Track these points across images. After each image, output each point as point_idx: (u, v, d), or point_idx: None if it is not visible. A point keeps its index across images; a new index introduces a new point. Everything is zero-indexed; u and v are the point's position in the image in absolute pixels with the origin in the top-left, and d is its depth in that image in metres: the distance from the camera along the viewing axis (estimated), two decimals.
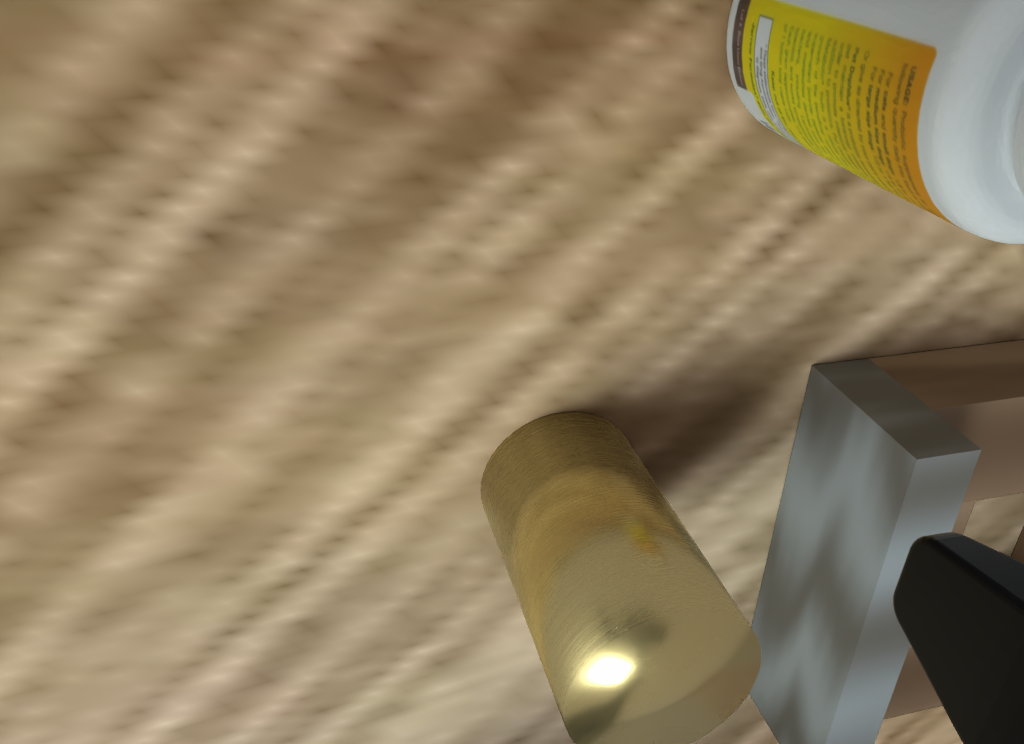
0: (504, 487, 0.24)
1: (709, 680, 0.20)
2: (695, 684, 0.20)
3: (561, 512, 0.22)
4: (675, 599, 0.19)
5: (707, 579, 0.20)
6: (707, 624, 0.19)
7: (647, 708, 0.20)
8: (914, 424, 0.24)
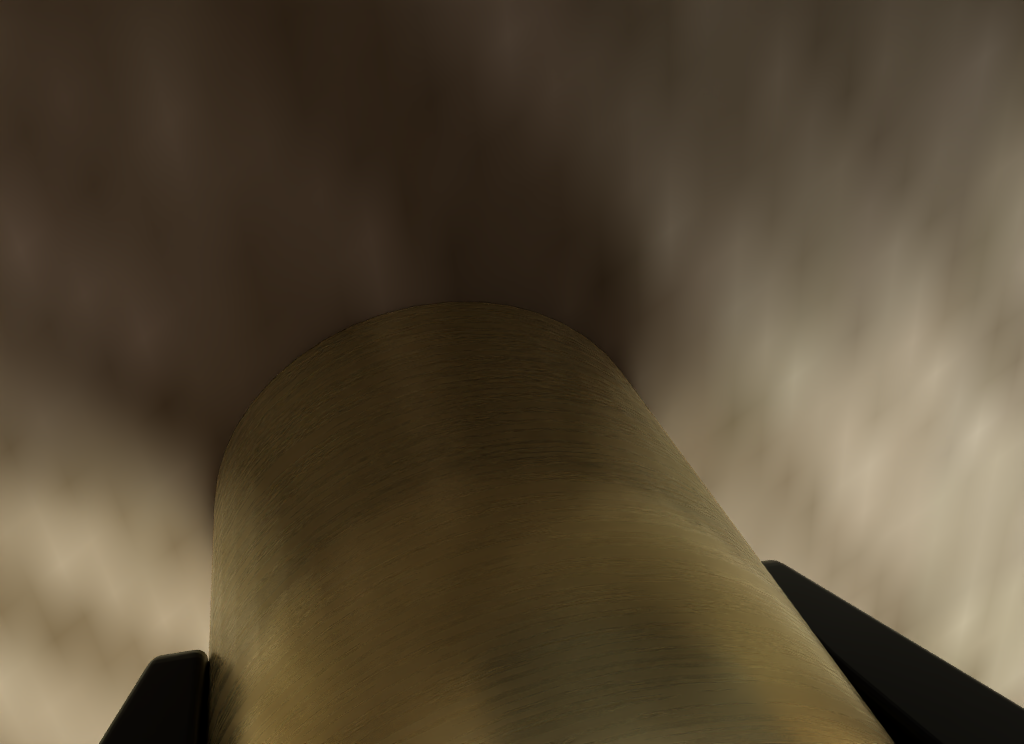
0: None
1: None
2: None
3: None
4: None
5: None
6: None
7: None
8: None
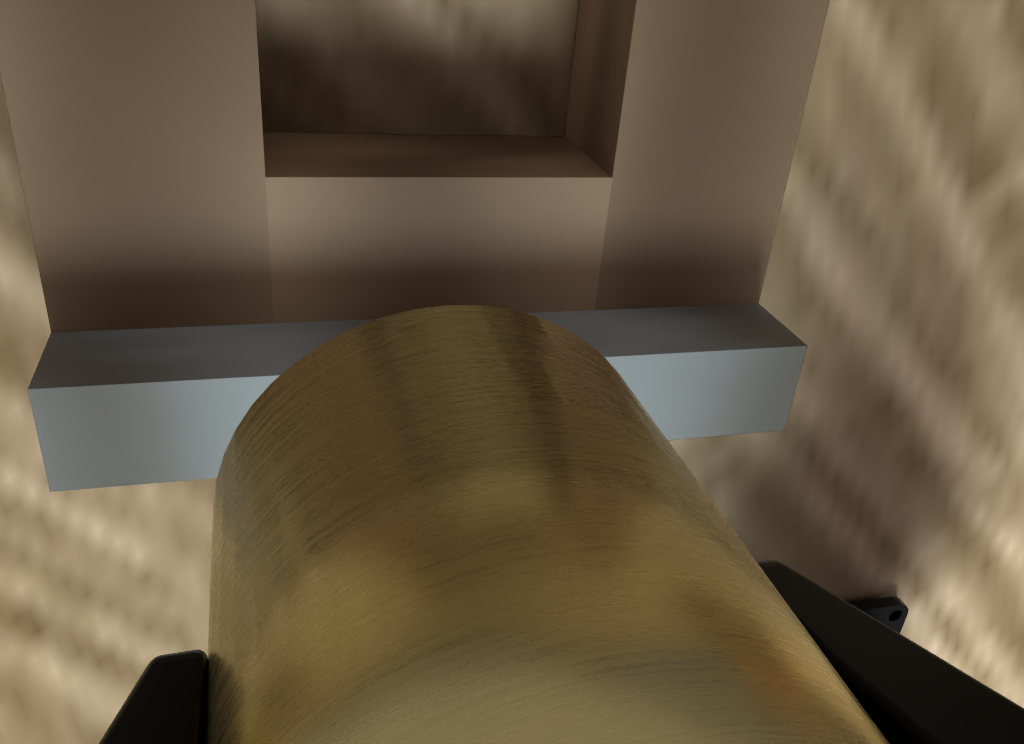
0: None
1: None
2: None
3: None
4: None
5: None
6: None
7: None
8: None
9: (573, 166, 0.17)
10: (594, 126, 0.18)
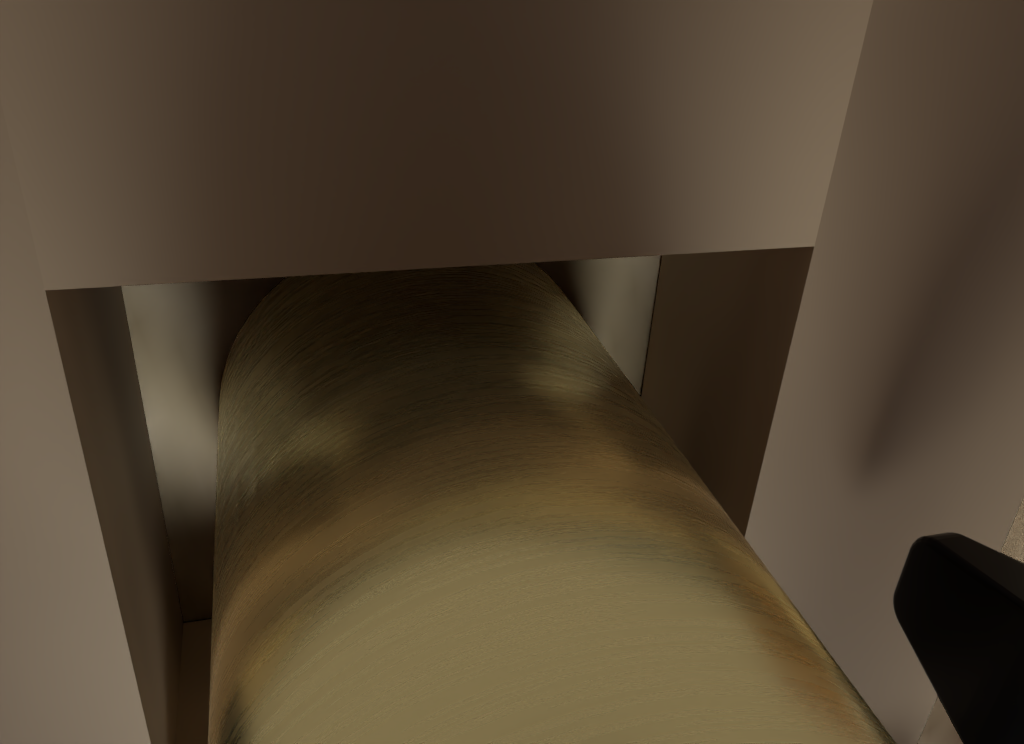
0: None
1: None
2: None
3: None
4: None
5: None
6: None
7: None
8: None
9: None
10: None
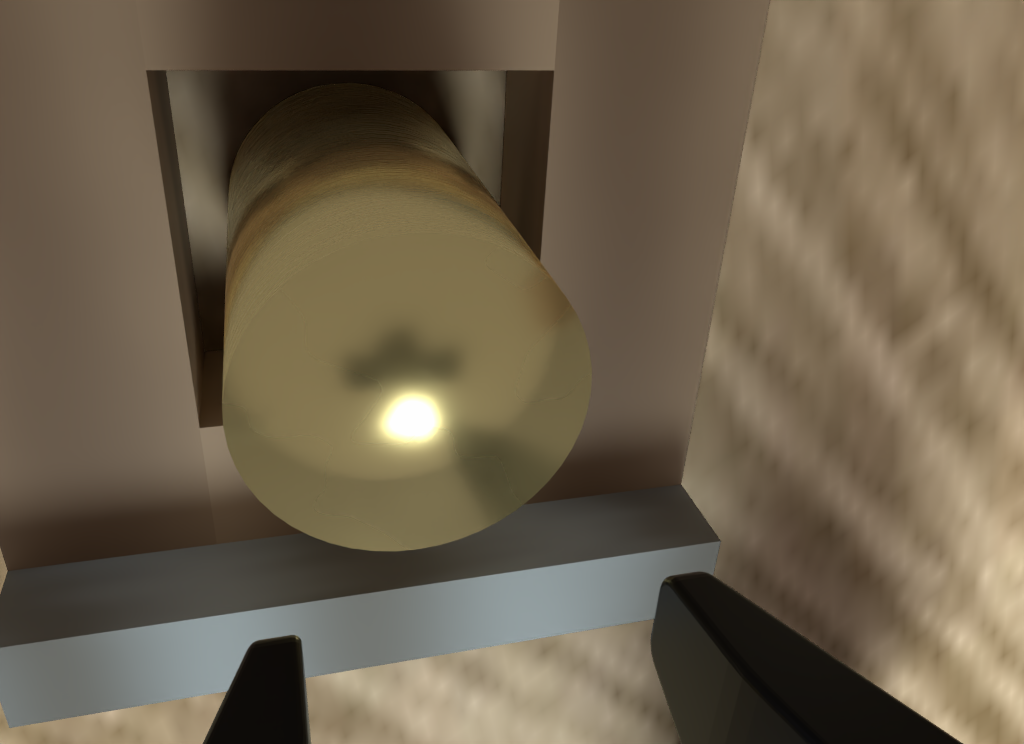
0: None
1: (419, 330, 0.11)
2: (422, 356, 0.11)
3: None
4: None
5: (244, 290, 0.11)
6: (263, 367, 0.11)
7: (458, 426, 0.12)
8: None
9: None
10: None
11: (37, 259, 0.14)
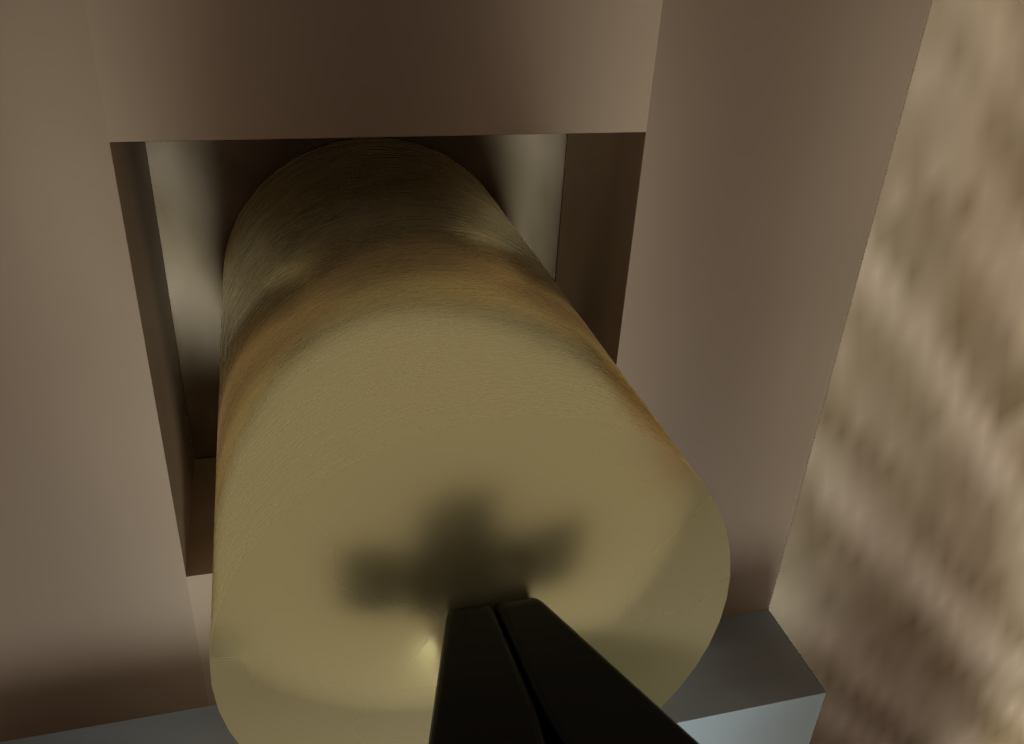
0: None
1: (497, 543, 0.07)
2: (498, 574, 0.08)
3: None
4: None
5: (243, 474, 0.08)
6: (270, 608, 0.07)
7: None
8: None
9: None
10: None
11: None
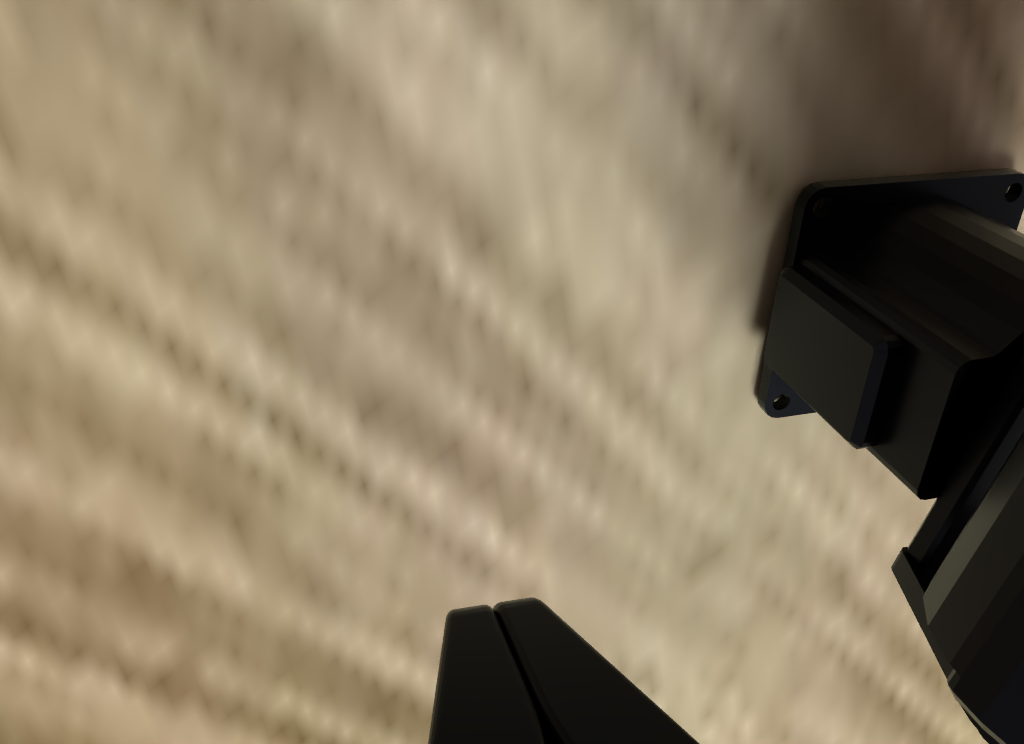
0: None
1: None
2: None
3: None
4: None
5: None
6: None
7: None
8: None
9: None
10: None
11: None
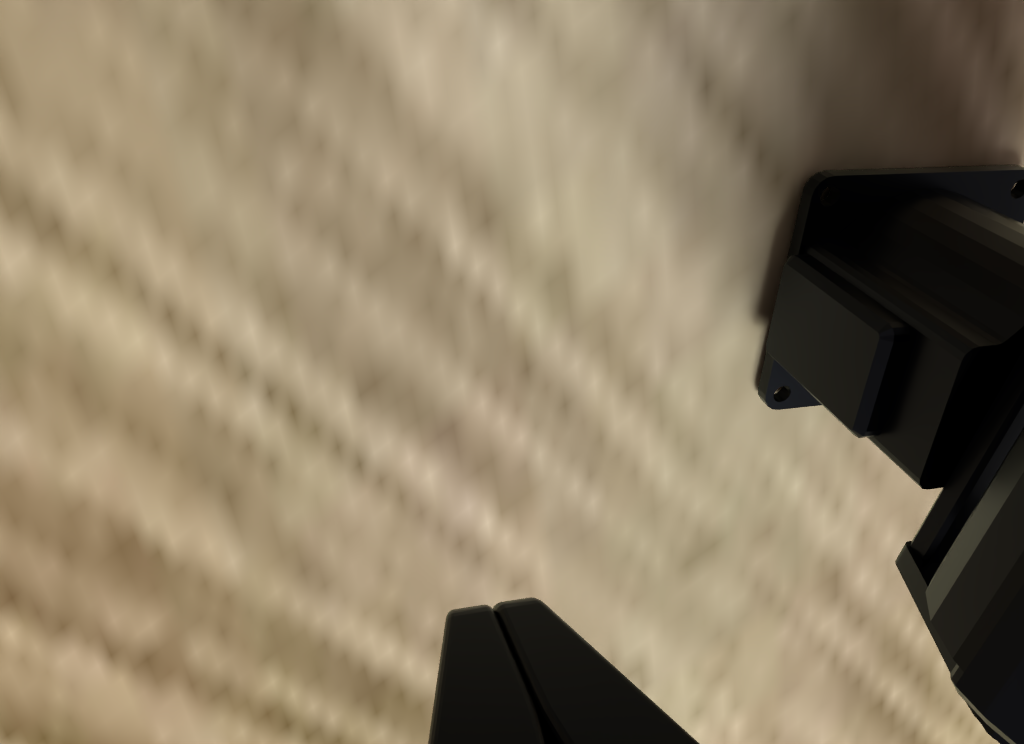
0: None
1: None
2: None
3: None
4: None
5: None
6: None
7: None
8: None
9: None
10: None
11: None
